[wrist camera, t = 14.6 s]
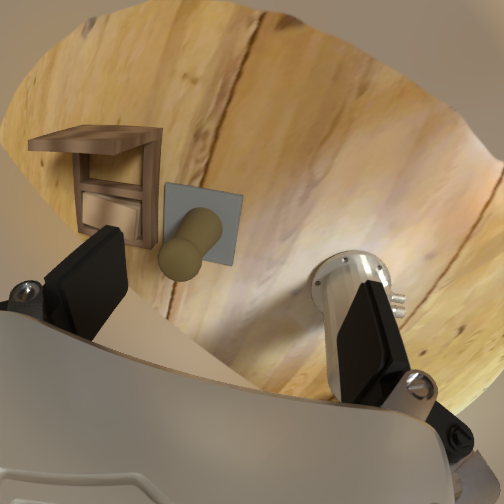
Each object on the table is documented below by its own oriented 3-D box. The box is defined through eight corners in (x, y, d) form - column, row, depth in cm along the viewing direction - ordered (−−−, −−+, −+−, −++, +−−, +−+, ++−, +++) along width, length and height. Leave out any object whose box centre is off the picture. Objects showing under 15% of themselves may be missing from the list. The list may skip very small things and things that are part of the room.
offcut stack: (147, 201, 41) (136, 210, 38) (144, 231, 44) (133, 241, 41) (96, 185, 41) (83, 192, 38) (94, 213, 44) (82, 222, 41)
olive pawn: (231, 231, 41) (211, 275, 31) (201, 252, 43) (175, 297, 34) (203, 198, 39) (173, 233, 30) (174, 222, 41) (140, 260, 32)
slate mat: (243, 195, 39) (242, 196, 38) (232, 264, 44) (232, 266, 44) (167, 182, 39) (165, 183, 39) (165, 249, 45) (163, 251, 44)
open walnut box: (162, 128, 35) (113, 142, 25) (157, 242, 44) (120, 285, 34) (82, 124, 36) (27, 140, 26) (86, 226, 45) (43, 260, 34)
